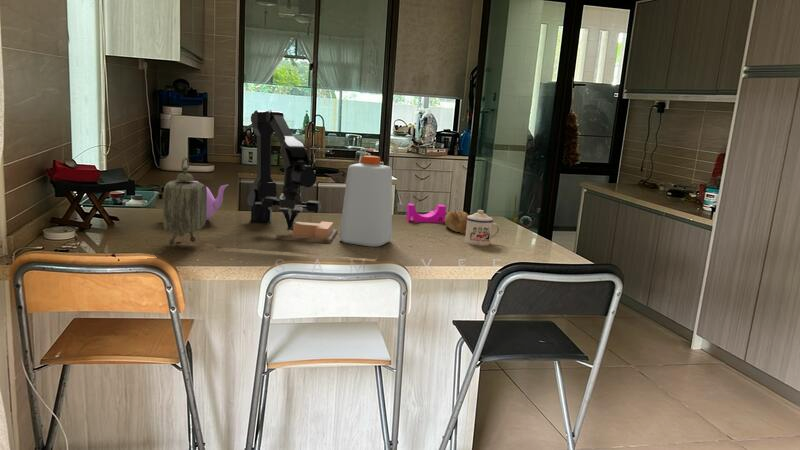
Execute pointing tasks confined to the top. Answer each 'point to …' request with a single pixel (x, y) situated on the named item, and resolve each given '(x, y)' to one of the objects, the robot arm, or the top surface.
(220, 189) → the teapot
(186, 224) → the tabletop clock
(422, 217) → the toy block
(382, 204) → the plastic bottle
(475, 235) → the teacup with lid
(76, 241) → the top surface
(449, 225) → the bread roll
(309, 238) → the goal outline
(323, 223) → the t puck
